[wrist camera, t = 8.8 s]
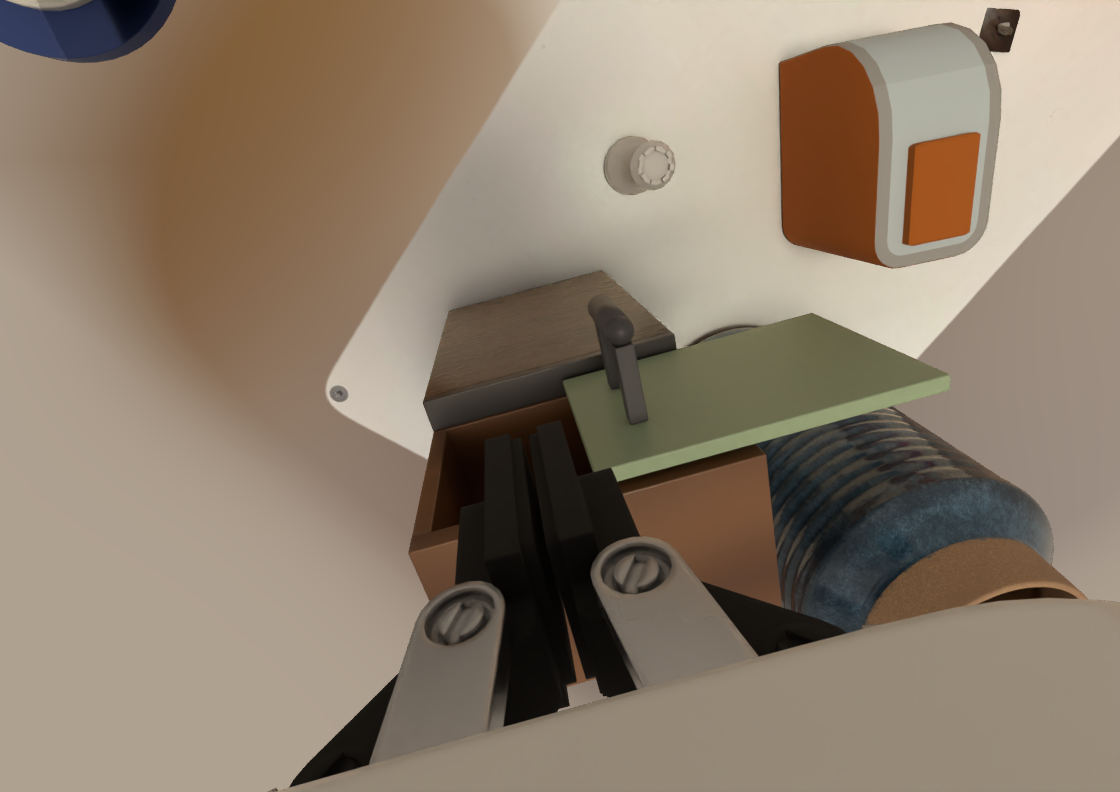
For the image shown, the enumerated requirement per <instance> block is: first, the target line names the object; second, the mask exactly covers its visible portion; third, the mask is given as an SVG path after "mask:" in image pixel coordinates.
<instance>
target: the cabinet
mask: <svg viewBox="0 0 1120 792" xmlns="http://www.w3.org/2000/svg"><path fill="white" fill-rule="evenodd" d="M599 294H603V295H606V296H608V297H609V298H610V299H611V300H612V301H613V302H614V303H615V304H616V305H617V306H618V307H619V308H620V309H621V310H622V312H623V313H624V314H625V315H626V316H627V317H628V318H629V319H630V320H631V321H632V323H633V325H634V336H633V338H632V339H631V342H632V343H633V344H634V348H635V353H636V358H637V360H641V359H644V358H648V357H652V356H655V355H659V354H663V353H666V352H670V351H674V350H677V348H676V342H675V336H674V334H673V333H672V332H670V331H669V330H668V329H667V328H666V327H665V326H664V325H663V324H662V323H660V322H659V321H658V320H657V319H656V318H655V317H654V316H653V315H652V314H650V313H649V312H648V311H647V310H646V309H645V308H644V307H643V306H641V305H640V304H639V303H638V302H637V301H636V300H635V299H634V298H633V297H631V296H630V295H629V294H628V293H627V292H626V291H625V290H624V289H622V288H621V287H620V286H619V285H618V284H617V283H616V282H615V281H614V280H612V279H611V278H610V277H609V276H608V275H607V274H606V273H605V272H603V271H602V270H601V271H597V272H593V273H589V274H586V275H582V276H578V277H575V278H571V279H567V280H563V281H560V282H556V283H552V284H549V285H545V286H541V287H537V288H534V289H530V290H526V291H522V292H519V293H515V294H511V295H508V296H504V297H500V298H496V299H493V300H489V301H485V302H482V303H478V304H474V305H470V306H467V307H463V308H459V309H456V310H452V311H449V312H448V316H447V319H446V323H445V326H444V330H443V333H442V337H441V341H440V344H439V348H438V351H437V355H436V358H435V362H434V365H433V369H432V372H431V376H430V380H429V383H428V387H427V390H426V394H425V397H424V400H423V405H424V408H425V410H426V413H427V416H428V418H429V421H430V423H431V426H432V429H433V431H434V433H433V439H432V443H431V448H430V453H429V458H428V463H427V467H426V472H425V477H424V482H423V486H422V491H421V496H420V501H419V506H418V511H417V515H416V520H415V525H414V530H413V534H412V538H411V543H410V548H409V553H408V554H409V556H410V558H411V560H412V563H413V565H414V567H415V569H416V572H417V574H418V576H419V578H420V581H421V583H422V585H423V587H424V590H425V592H426V594H427V596H428V599H429V601H430V600H431V599H433V598H434V597H435V596H437V595H438V594H439V593H441V592H442V591H444V590H446V589H448V588H450V587H452V586H454V585H455V575H456V561H457V548H458V534H459V520H460V511H461V508H462V507H465V506H469V505H473V504H476V503H480V502H484V464H485V440H487V439H491V438H494V437H498V436H502V435H506V434H510V435H511V438H512V440H513V439H517V438H520V437H521V439H522V442H523V445H524V449H525V452H526V456H527V459H528V462H529V466H530V469H531V473H532V476H533V479H534V483H535V486H536V480H535V474H534V468H533V462H532V455H531V449H530V443H529V437H528V435H532V434H535V433H537V427H536V426H540V425H544V424H547V423H551V422H555V421H559V420H561V423H562V427H563V430H564V433H565V437H566V440H567V444H568V447H569V450H570V454H571V457H572V460H573V464H574V467H575V471H576V474H577V476H581V475H585V474H588V473H592V472H593V471H592V468H591V465H590V462H589V459H588V456H587V453H586V450H585V447H584V445H583V442H582V439H581V436H580V433H579V430H578V427H577V424H576V421H575V418H574V415H573V413H572V410H571V407H570V404H569V401H568V398H567V395H566V392H565V389H564V385H563V381H564V380H567V379H571V378H574V377H578V376H582V375H586V374H589V373H593V372H597V371H600V370H604V369H605V368H604V363H603V359H602V354H601V350H600V345H599V341H598V336H597V332H596V327H595V323H594V320H593V319H592V317H591V316H590V314H589V312H588V303H589V301H590V300H591V298H592V297H594V296H595V295H599ZM618 484H619V487H620V489H621V492H622V494H623V496H624V499H625V501H626V503H627V506H628V508H629V511H630V513H631V515H632V518H633V520H634V523H635V525H636V527H637V530H638V532H639V535H640V537H644V536H645V537H651V538H657V539H660V540H662V541H664V542H667V543H669V544H670V545H671V546H672V547H673V548H674V549H675V550H677V552H678V553H679V554H680V555H681V557H682V558H683V559H684V561H685V562H686V563H687V564H688V566H689V567H690V568H691V570H692V571H693V572H694V574H695V575H696V576H697V577H698V579H699V580H700V581H702V582H705V583H709V584H712V585H715V586H718V587H721V588H724V589H727V590H730V591H733V592H736V593H740V594H743V595H746V596H749V597H752V598H755V599H758V600H761V601H764V602H767V603H771V604H774V605H777V606H780V607H782V603H781V594H780V584H779V574H778V565H777V555H776V545H775V536H774V526H773V516H772V507H771V497H770V487H769V477H768V468H767V458H766V454H765V453H764V452H763V451H762V450H761V449H760V448H759V447H758V446H757V445H756V444H752V445H749V446H745V447H741V448H738V449H734V450H731V451H727V452H723V453H720V454H716V455H712V456H709V457H705V458H701V459H698V460H694V461H691V462H687V463H683V464H680V465H676V466H672V467H669V468H665V469H662V470H658V471H654V472H651V473H647V474H643V475H640V476H636V477H632V478H629V479H625V480H622V481H618ZM536 490H537V487H536ZM564 611H565V608H564ZM565 616H566V622H567V627H568V633H569V639H570V644H571V650H572V655H573V661H574V667H575V672H576V678H577V682H576V683H573V684H569V685H566V686H567V687H568V686H572V685H575V684H579V683H583V682H586V681H590V680H593V679H596V677H594V678H591V679H587V680H586V678H585V675H584V671H583V668H582V665H581V661H580V658H579V655H578V651H577V648H576V645H575V641H574V638H573V635H572V631H571V628H570V625H569V621H568V618H567V615H566V611H565Z"/></svg>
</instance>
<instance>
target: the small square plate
mask: <svg viewBox="0 0 1120 792" xmlns="http://www.w3.org/2000/svg"><path fill="white" fill-rule="evenodd" d="M1019 17H1020V11H1019V10H1012V9H996V8H987V11H986V15H985V18H984V22H983V26H982V29H981V33H980V38H981V39H982V40H983V41H984V42H985V43H986V45H987V47H988V49H989V51H996V52H1009V51H1010V48H1011V44H1012V41H1013V38H1014V34H1015V31H1016V27H1017V24H1018V21H1019Z"/></svg>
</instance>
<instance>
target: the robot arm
mask: <svg viewBox="0 0 1120 792" xmlns="http://www.w3.org/2000/svg"><path fill="white" fill-rule="evenodd" d="M7 1H9V2H12V3H15V4H18V5H21V6H24V7H28V8H33V9H37V10H42V11H64V10H69V9H74V8H78V7H80V6H82V5H85V4H87V3H89V2H91V1H93V0H7ZM536 427H537V433H535V434H532V435H528V437H529V443H530V449H531V455H532V462H533V468H534V474H535V480H536V486H535V483H534V479H533V476H532V473H531V469H530V466H529V462H528V459H527V456H526V452H525V449H524V445H523V442H522V439H521V437H520V438H517V439H513V440H512V438H511V435H510V434H506V435H502V436H498V437H494V438H491V439H487V440H485V464H484V502H480V503H476V504H473V505H469V506H465V507H462V508H461V511H460V520H459V534H458V548H457V561H456V575H455V585H454V586H452V587H450V588H448V589H446V590H444V591H442V592H441V593H439V594H438V595H437V596H435V597H434V598H433V599H431V600H430V601H429V602H428V604H427V605H426V606H425V607H424V608H423V609H422V611H421V613H420V614H419V616H418V619H417V621H416V623H415V626H414V629H413V632H412V635H411V638H410V641H409V644H408V647H407V650H406V653H405V656H404V659H403V662H402V665H401V668H400V671H399V673H398V674H397V675H396V676H395V677H394V678H393V679H392V680H391V681H390V682H389V683H388V684H387V685H386V686H385V687H384V688H383V689H382V690H381V691H380V692H379V693H378V694H377V695H376V696H375V697H374V698H373V699H372V700H371V701H370V702H369V703H368V704H367V705H366V706H365V707H364V708H363V709H362V710H361V711H360V712H359V713H358V714H357V715H356V716H355V717H354V718H353V719H352V720H351V721H350V722H349V723H348V724H347V725H346V726H345V727H344V728H343V729H342V730H341V731H340V732H339V733H338V734H337V735H336V736H335V737H334V738H333V739H332V740H331V741H330V742H329V743H328V744H327V745H326V746H325V747H324V748H323V749H322V750H321V751H320V752H319V753H318V754H317V755H316V756H315V757H314V758H313V759H312V760H311V761H310V762H309V763H308V764H307V765H306V766H305V767H304V768H303V769H302V771H301V772H300V773H299V774H298V775H297V776H296V778H295V779H294V780H293V782H292V783H291V785H290V787H289V788H287V789H283V790H280V791H278V790H277V789H276V788H274V789H272V790H270V791H268V792H1120V602H1114V601H1105V600H1089V599H1063V598H1039V599H1022V600H1006V601H996V602H989V603H983V604H976V605H970V606H963V607H956V608H951V609H946V610H942V611H938V612H933V613H929V614H925V615H920V616H916V617H912V618H907V619H903V620H898V621H894V622H890V623H883V624H868V625H861V630H858V631H854V632H850V633H846V632H845V631H843V630H842V629H841V628H839V627H837V626H835V625H832V624H830V623H828V622H826V621H823V620H820V619H817V618H814V617H811V616H808V615H805V614H801V613H798V612H795V611H792V610H789V609H786V608H783V607H780V606H777V605H774V604H771V603H767V602H764V601H761V600H758V599H755V598H752V597H749V596H746V595H743V594H740V593H736V592H733V591H730V590H727V589H724V588H721V587H718V586H715V585H712V584H709V583H705V582H702V581H700V580H699V579H698V577H697V576H696V575H695V574H694V572H693V571H692V570H691V568H690V567H689V566H688V564H687V563H686V562H685V561H684V559H683V558H682V557H681V555H680V554H679V553H678V552H677V550H675V549H674V548H673V547H672V546H671V545H670V544H669V543H667V542H664V541H662V540H660V539H657V538H651V537H645V536H644V537H640V535H639V532H638V530H637V527H636V525H635V523H634V520H633V518H632V515H631V513H630V511H629V508H628V506H627V503H626V501H625V499H624V496H623V494H622V492H621V489H620V487H619V484H618V482H617V480H616V477H615V475H614V472H613V470H612V468H607V469H603V470H600V471H596V472H592V473H588V474H585V475H581V476H577V474H576V471H575V467H574V464H573V460H572V457H571V454H570V450H569V447H568V444H567V440H566V437H565V433H564V430H563V427H562V423H561V420H559V421H555V422H551V423H547V424H544V425H540V426H536ZM536 487H537V490H536ZM564 608H565V611H566V615H567V618H568V621H569V625H570V628H571V631H572V635H573V638H574V641H575V645H576V648H577V651H578V655H579V658H580V661H581V665H582V668H583V671H584V675H585V678H586V680H587V679H591V678H594V677H596V680H597V683H598V687H599V690H600V693H601V694H603V696H607V697H609V698H606V699H602V700H599V701H595V702H592V703H588V704H584V705H581V706H577V707H574V708H570V709H566V710H563V711H559V712H557V711H558V709H560V708H563V707H568V706H570V705H569V699H568V692H567V686H566V685H569V684H573V683H576V682H577V678H576V672H575V667H574V661H573V655H572V650H571V644H570V639H569V633H568V627H567V622H566V616H565V611H564Z"/></svg>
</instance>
